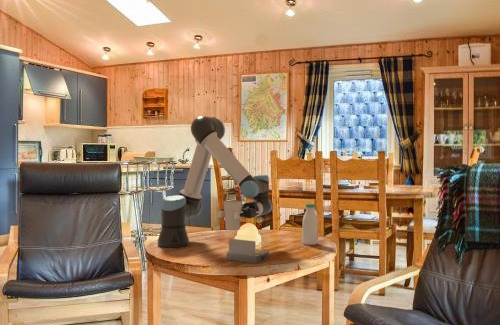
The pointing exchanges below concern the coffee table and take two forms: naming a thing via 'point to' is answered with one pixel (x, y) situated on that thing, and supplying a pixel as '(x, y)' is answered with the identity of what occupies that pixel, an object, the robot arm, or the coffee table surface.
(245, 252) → the grey holder block
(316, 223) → the milk bottle
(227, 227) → the cup
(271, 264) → the coffee table surface
